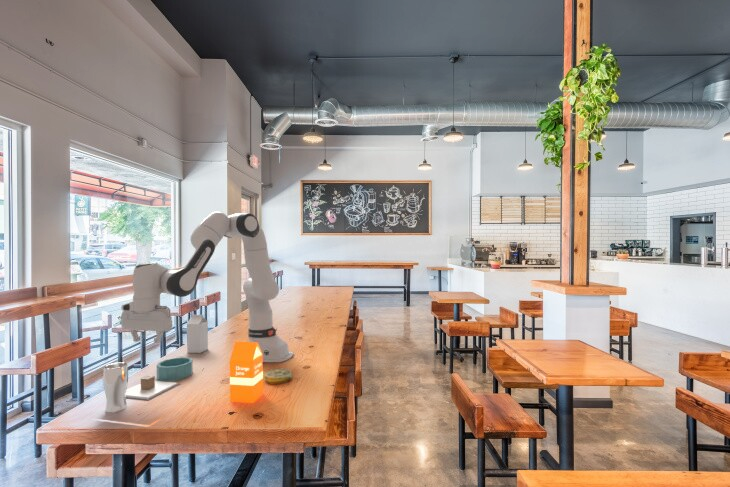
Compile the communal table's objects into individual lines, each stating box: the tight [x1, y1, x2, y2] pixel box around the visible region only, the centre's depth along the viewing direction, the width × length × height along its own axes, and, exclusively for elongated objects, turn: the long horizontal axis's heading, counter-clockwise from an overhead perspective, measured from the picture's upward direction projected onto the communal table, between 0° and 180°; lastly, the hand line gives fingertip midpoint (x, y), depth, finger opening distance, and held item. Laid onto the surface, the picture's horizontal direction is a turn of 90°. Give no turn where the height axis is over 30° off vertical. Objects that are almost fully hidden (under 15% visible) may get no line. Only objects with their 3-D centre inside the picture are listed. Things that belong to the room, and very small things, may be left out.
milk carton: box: [186, 314, 209, 354], centre depth 190 cm, size 7×7×19 cm
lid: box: [126, 375, 178, 400], centre depth 138 cm, size 14×14×5 cm
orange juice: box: [229, 341, 264, 404], centre depth 131 cm, size 8×9×20 cm
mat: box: [126, 383, 182, 402], centre depth 138 cm, size 16×16×1 cm
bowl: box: [156, 357, 194, 382], centre depth 154 cm, size 13×13×6 cm
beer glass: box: [102, 361, 129, 413], centre depth 123 cm, size 7×7×15 cm
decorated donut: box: [263, 368, 293, 385], centre depth 148 cm, size 10×11×4 cm
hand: (147, 341), depth 138 cm, fingers open, 8 cm apart
